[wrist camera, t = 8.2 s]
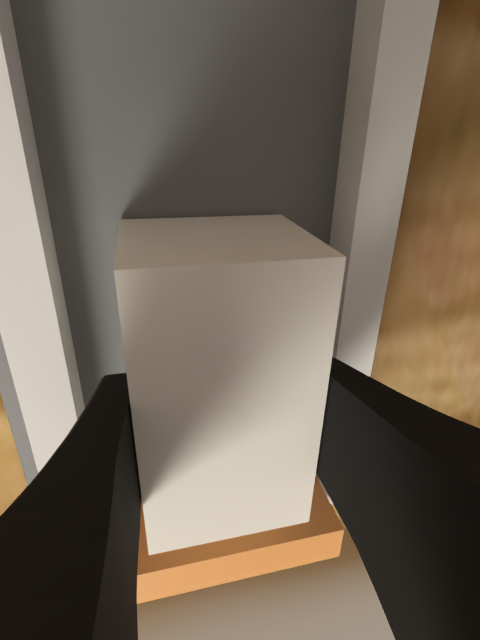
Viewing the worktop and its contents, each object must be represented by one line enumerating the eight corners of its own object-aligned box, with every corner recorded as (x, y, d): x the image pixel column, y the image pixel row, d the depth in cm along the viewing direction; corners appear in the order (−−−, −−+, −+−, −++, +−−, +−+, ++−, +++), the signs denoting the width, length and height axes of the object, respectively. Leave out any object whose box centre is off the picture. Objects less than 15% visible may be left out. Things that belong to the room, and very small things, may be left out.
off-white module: (281, 214, 10) (346, 257, 7) (267, 427, 14) (308, 521, 10) (118, 219, 10) (114, 270, 6) (143, 446, 13) (148, 555, 10)
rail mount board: (443, -224, 9) (679, -482, 5) (336, 458, 17) (394, 552, 13) (-187, -373, 6) (-653, -1098, 2) (49, 510, 14) (22, 642, 11)
